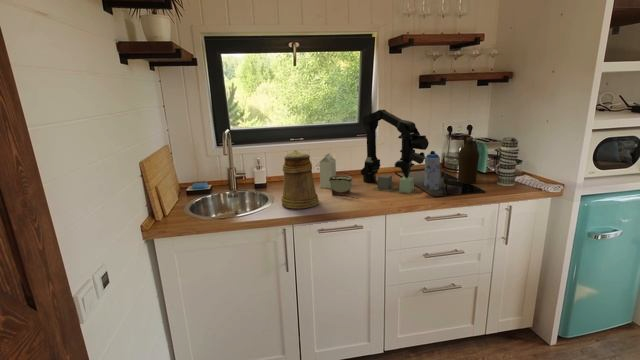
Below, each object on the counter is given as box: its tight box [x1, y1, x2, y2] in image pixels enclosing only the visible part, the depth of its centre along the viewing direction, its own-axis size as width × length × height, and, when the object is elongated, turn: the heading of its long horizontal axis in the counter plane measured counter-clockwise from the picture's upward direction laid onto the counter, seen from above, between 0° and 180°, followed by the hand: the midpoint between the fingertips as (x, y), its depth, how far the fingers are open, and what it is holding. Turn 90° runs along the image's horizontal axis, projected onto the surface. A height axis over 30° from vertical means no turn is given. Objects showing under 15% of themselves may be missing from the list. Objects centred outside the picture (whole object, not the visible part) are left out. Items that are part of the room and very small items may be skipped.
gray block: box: [377, 174, 393, 190], centre depth 185 cm, size 6×6×7 cm
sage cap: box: [398, 176, 415, 193], centre depth 178 cm, size 6×6×7 cm
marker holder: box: [371, 185, 421, 196], centre depth 182 cm, size 22×12×7 cm, turn 56°
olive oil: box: [457, 136, 480, 185], centre depth 193 cm, size 11×11×25 cm
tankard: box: [281, 149, 320, 210], centre depth 170 cm, size 18×24×25 cm
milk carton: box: [318, 152, 337, 189], centre depth 196 cm, size 7×7×19 cm
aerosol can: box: [423, 150, 441, 191], centre depth 185 cm, size 8×8×20 cm
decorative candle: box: [496, 136, 520, 187], centre depth 185 cm, size 9×9×25 cm
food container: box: [329, 174, 353, 198], centre depth 181 cm, size 12×6×10 cm, turn 71°
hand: (406, 178), depth 177 cm, fingers closed
